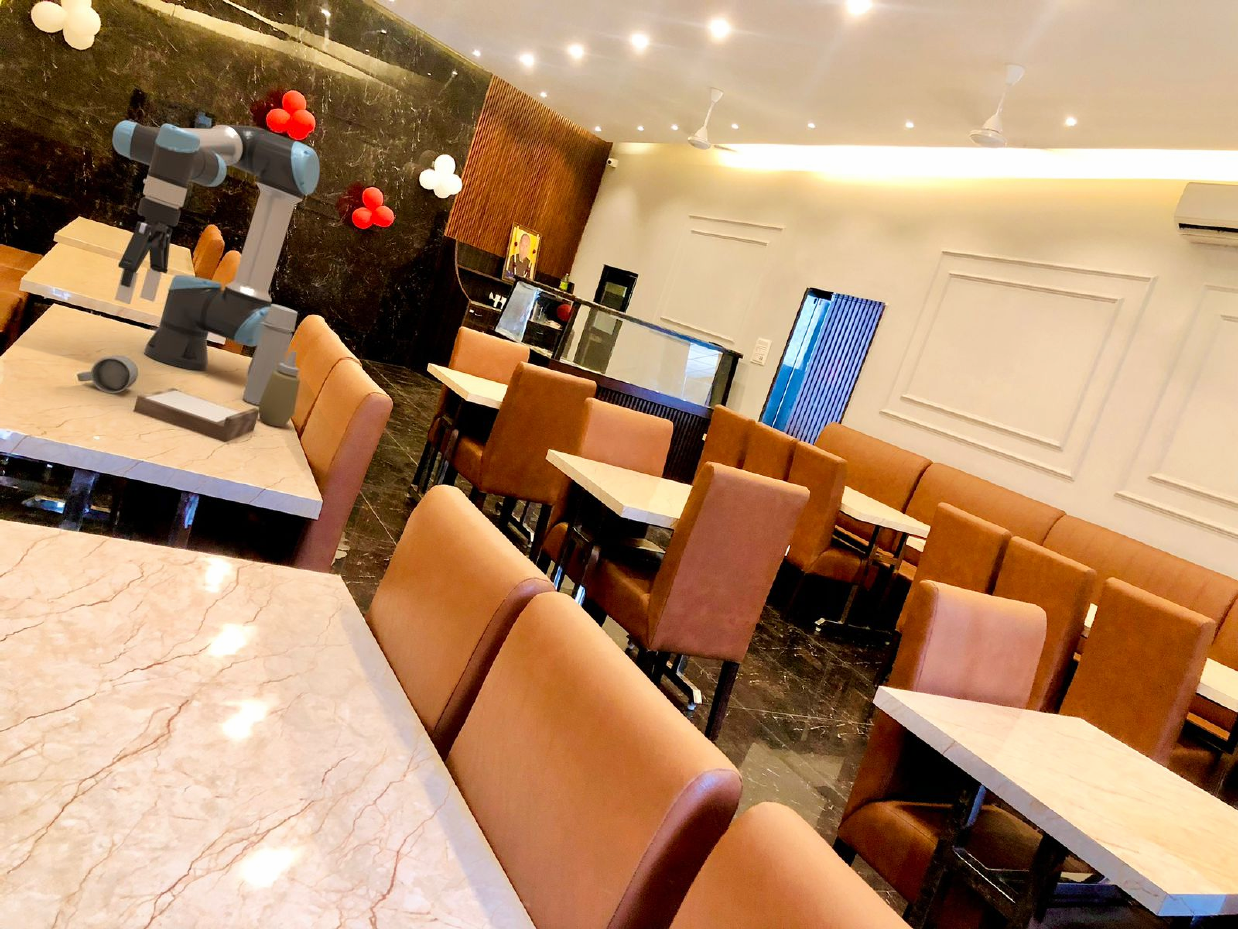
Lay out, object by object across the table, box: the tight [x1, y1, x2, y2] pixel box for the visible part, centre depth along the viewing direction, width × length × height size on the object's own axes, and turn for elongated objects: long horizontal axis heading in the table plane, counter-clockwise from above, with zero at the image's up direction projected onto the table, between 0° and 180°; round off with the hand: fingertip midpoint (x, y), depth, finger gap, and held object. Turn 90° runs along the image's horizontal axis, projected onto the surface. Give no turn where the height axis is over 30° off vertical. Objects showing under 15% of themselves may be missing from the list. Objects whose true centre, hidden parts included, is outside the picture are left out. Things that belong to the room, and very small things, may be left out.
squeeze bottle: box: [258, 350, 301, 428], centre depth 207 cm, size 8×8×18 cm
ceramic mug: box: [76, 354, 139, 394], centre depth 187 cm, size 11×8×8 cm
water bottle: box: [242, 303, 298, 406], centre depth 220 cm, size 9×8×25 cm
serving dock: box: [133, 387, 260, 443], centre depth 188 cm, size 16×19×5 cm
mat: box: [145, 390, 241, 423], centre depth 187 cm, size 14×15×1 cm
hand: (135, 300), depth 184 cm, fingers open, 13 cm apart
